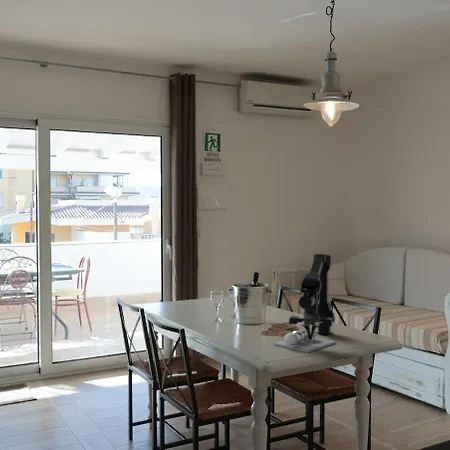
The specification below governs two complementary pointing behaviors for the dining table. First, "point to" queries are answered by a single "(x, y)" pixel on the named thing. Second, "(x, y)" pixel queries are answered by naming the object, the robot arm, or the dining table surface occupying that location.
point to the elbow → (302, 335)
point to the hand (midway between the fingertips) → (310, 340)
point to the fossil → (280, 329)
